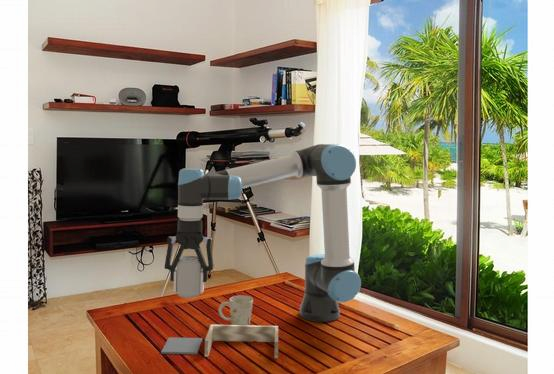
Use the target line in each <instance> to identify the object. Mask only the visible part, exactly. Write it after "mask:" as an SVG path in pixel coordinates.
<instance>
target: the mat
mask: <svg viewBox="0 0 554 374" xmlns="http://www.w3.org/2000/svg"><path fill="white" fill-rule="evenodd" d="M203 341H204V340H203V337H170V336H169V337H168V338H167V340H166V342H165V344H164V345H163V347H162V349H161V350H160V354H161V355H198V353H199V350H200V348H201V345H202V343H203Z"/></svg>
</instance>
